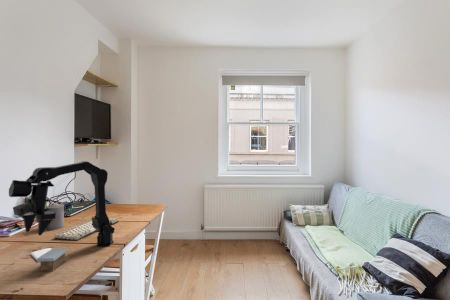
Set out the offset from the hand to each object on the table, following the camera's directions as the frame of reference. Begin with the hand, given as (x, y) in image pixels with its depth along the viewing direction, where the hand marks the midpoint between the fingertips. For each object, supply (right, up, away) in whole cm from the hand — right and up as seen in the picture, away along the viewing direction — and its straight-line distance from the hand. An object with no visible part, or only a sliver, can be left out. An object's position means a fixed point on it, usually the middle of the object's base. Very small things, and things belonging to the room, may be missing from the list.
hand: (33, 233), depth 114 cm
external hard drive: (-3, -15, +11) cm, 19 cm away
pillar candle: (-25, -13, +53) cm, 60 cm away
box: (+9, -14, 0) cm, 17 cm away
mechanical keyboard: (-2, -14, +49) cm, 51 cm away
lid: (+9, -10, 0) cm, 13 cm away
